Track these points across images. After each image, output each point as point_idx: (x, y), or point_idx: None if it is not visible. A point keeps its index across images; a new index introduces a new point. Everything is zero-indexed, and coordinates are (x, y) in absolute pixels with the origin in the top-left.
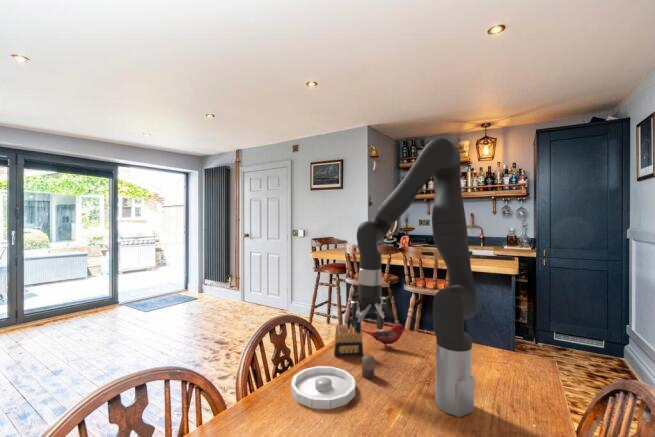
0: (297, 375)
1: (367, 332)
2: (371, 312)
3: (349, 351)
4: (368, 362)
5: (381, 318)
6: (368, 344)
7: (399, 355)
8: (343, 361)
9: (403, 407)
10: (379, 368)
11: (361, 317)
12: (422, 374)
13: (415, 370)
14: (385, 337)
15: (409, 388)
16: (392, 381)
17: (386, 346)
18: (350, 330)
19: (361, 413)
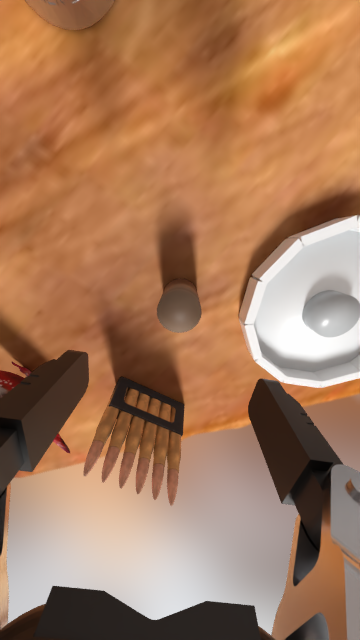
0: (354, 374)
1: (57, 437)
2: (138, 625)
3: (149, 400)
4: (194, 295)
5: (1, 428)
6: None
7: (25, 326)
8: (182, 379)
9: (226, 80)
10: (126, 306)
11: (356, 542)
12: (27, 202)
13: (33, 235)
14: None
15: (124, 162)
16: (142, 230)
17: None
18: (133, 458)
19: (347, 150)
